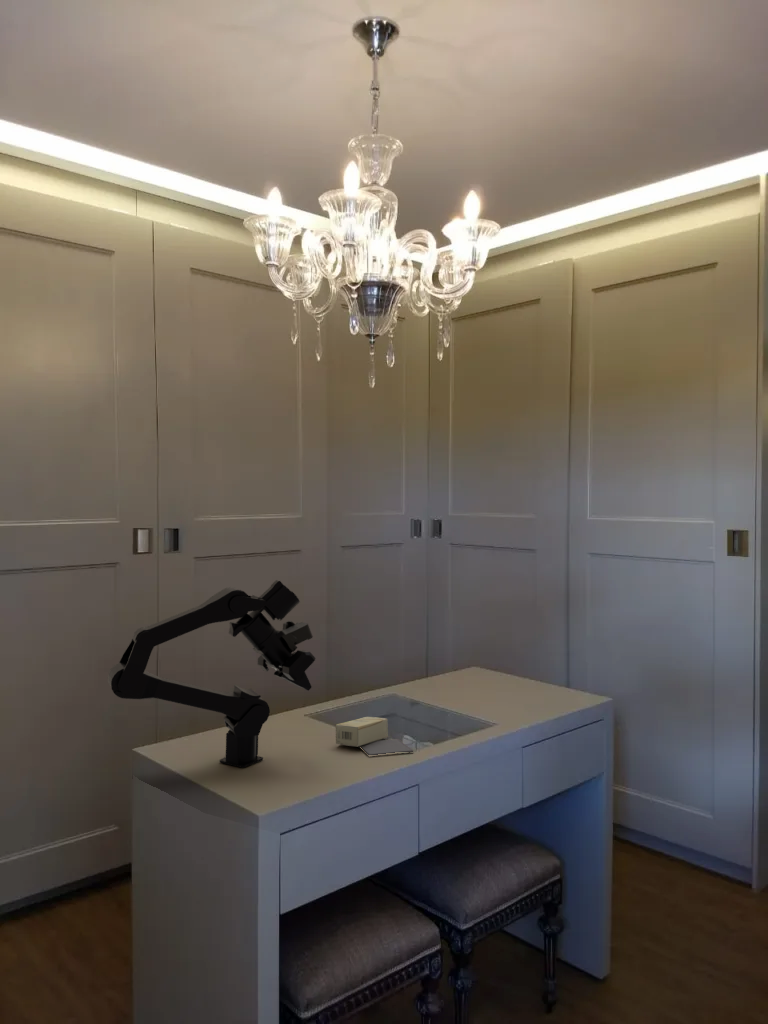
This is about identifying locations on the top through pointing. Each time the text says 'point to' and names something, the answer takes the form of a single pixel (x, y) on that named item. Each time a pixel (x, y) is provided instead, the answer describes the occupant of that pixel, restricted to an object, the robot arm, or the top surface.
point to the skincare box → (361, 731)
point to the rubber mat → (385, 747)
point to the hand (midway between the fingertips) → (309, 688)
